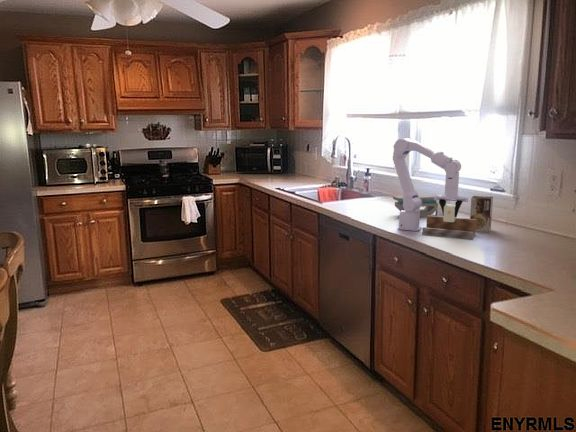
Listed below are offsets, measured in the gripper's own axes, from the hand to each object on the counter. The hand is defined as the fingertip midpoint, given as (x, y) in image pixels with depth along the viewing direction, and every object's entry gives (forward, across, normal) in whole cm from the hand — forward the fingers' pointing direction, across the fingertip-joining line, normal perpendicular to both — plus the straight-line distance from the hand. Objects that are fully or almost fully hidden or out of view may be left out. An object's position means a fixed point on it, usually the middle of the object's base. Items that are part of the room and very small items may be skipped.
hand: (449, 216), depth 218 cm
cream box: (+2, 0, 0) cm, 2 cm away
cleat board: (+8, 0, -1) cm, 9 cm away
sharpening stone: (+9, -23, +36) cm, 44 cm away
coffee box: (+9, +12, +15) cm, 21 cm away
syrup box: (+9, -7, +22) cm, 25 cm away
